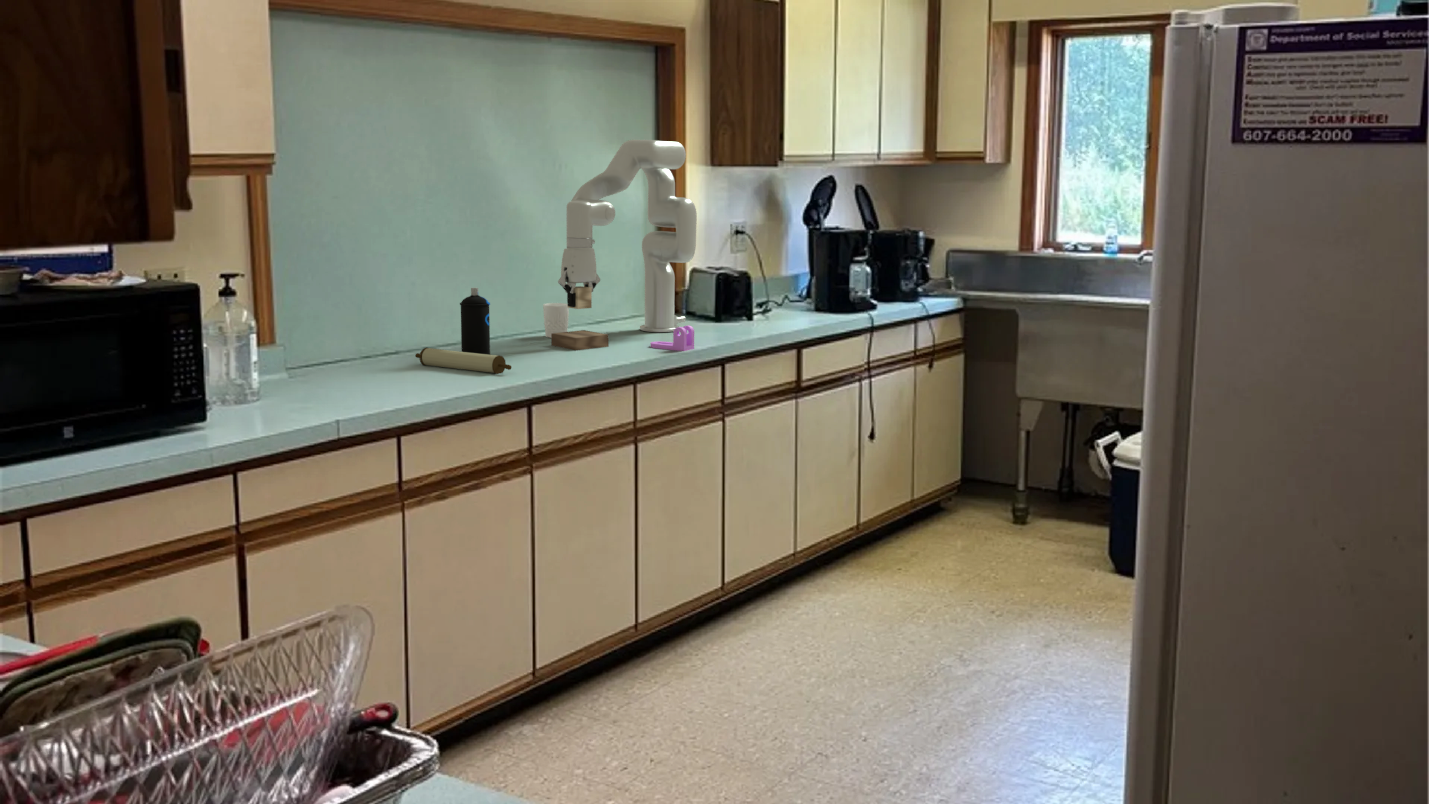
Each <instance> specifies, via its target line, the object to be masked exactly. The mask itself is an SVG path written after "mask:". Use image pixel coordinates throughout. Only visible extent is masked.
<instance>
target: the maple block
mask: <svg viewBox="0 0 1429 804" xmlns="http://www.w3.org/2000/svg"><path fill="white" fill-rule="evenodd" d="M574 293H576V306H575V307H570V306H568V308H569V309H575V310H582V309H583V310H584V309H592V306H593V305H592V303H593V302H592V297H593V296H592V294H593V292H592V288H590V287H584V285H583V286H581V285H579V286H575V290H574Z"/></svg>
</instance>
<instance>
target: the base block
mask: <svg viewBox="0 0 1429 804" xmlns="http://www.w3.org/2000/svg"><path fill="white" fill-rule="evenodd" d="M550 339H551V346H552V347H557V348H563V349H566V350H567V349H568V350H573V351H583V350H590V349H591V350H592V349H599V348H600V349H601V348H608V347H610V346H609V341H610V340H609V339H610V338H609V334H608V333H602V332H597V331H596V332H595V331H590V330H585V329H581V330H574V331H573V330H572V331H571V330H570V331H567V332H561V333H551V338H550Z"/></svg>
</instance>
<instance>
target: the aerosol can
mask: <svg viewBox="0 0 1429 804" xmlns="http://www.w3.org/2000/svg"><path fill="white" fill-rule="evenodd" d="M490 305H491V302H489V300H488V299H487V298H485V297H484V296H481V295H479V287H471V288H470V295H469V296H466V297H465V298H464V299H462V300H461V302H459V306H460V334H461V335H460V336H461V337H460V338H461V339H460V341H461V342H460V345H461V352H468V353H477V354H487V355H491V337H490V336H491V334H490V332H491V329H490V327H491V326H490V325H491V324H490V323H491V322H490Z"/></svg>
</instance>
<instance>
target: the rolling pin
mask: <svg viewBox="0 0 1429 804" xmlns="http://www.w3.org/2000/svg"><path fill="white" fill-rule="evenodd" d="M414 357H415V358H417V359H419V362H420V364H421V365H422V366H431V367H439V368H445V369H447V368H448V369H456V370H463V371H465V370H466V371H473V372H481V373H482V372H484V373H492V374H496V375H499V374H503V373H504V371H505V370H508V371H510V370H511V369H512V365H511V364H507V363H506V359H505V357H504V356H502V355H500V354H498V355H496V354H490V355H487V354H477V353H468V352H462V351H457V350H447V349H439V348H431V347H424V348H422V350H421V351H420V352H418V353H415V356H414Z"/></svg>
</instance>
